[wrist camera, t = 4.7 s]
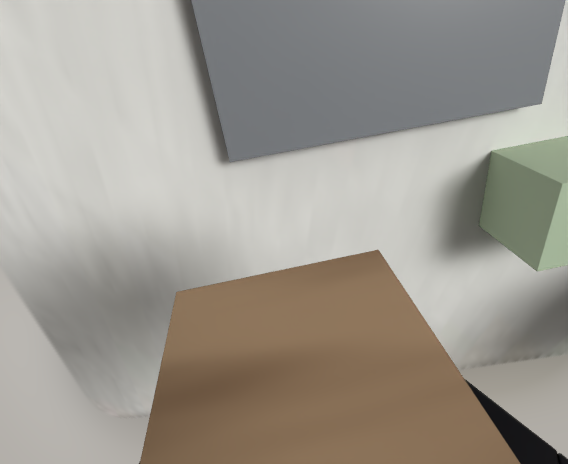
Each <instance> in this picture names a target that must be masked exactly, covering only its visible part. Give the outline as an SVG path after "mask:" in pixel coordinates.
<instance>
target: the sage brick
mask: <svg viewBox="0 0 568 464" xmlns="http://www.w3.org/2000/svg"><path fill="white" fill-rule="evenodd" d="M479 226H480V227H481V228H482V229H484V230H485V231H486V232H487V233H489V234H490V235H491V236H493V237H494V238H495V239H496V240H498V241H499V242H500V243H501V244H503V245H504V246H505V247H507V248H508V249H509V250H510V251H512V252H513V253H514V254H515V255H517V256H518V257H519V258H521V259H522V260H523V261H524V262H526V263H527V264H528V265H529V266H531V267H532V268H533V269H535V270H536V271H542V270H547V269H551V268H556V267H561V266H566V265H568V136H565V137H560V138H555V139H549V140H544V141H539V142H534V143H529V144H524V145H519V146H514V147H508V148H503V149H498V150H493V151H491V157H490V163H489V169H488V175H487V180H486V186H485V192H484V198H483V204H482V210H481V216H480V222H479Z"/></svg>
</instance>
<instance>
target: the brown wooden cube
mask: <svg viewBox="0 0 568 464" xmlns="http://www.w3.org/2000/svg"><path fill="white" fill-rule="evenodd" d="M140 464H520V462H519V461H518V459H517V458H516V456H515V455H514V453H513V452H512V450H511V449H510V447H509V446H508V444H507V443H506V441H505V440H504V438H503V437H502V435H501V434H500V432H499V431H498V429H497V428H496V426H495V425H494V423H493V422H492V420H491V419H490V417H489V416H488V414H487V413H486V411H485V410H484V408H483V407H482V405H481V404H480V402H479V401H478V399H477V398H476V396H475V395H474V393H473V392H472V390H471V389H470V387H469V386H468V384H467V383H466V381H465V380H464V378H463V377H462V375H461V374H460V372H459V370H458V369H457V367H456V366H455V364H454V363H453V361H452V360H451V358H450V357H449V355H448V354H447V352H446V351H445V349H444V348H443V346H442V345H441V343H440V342H439V340H438V339H437V337H436V336H435V334H434V333H433V331H432V330H431V328H430V327H429V325H428V324H427V322H426V321H425V319H424V318H423V316H422V315H421V313H420V312H419V310H418V309H417V307H416V306H415V304H414V303H413V301H412V300H411V298H410V297H409V295H408V294H407V292H406V291H405V289H404V288H403V286H402V285H401V283H400V282H399V280H398V279H397V277H396V276H395V274H394V273H393V271H392V270H391V268H390V266H389V265H388V263H387V262H386V260H385V259H384V257H383V256H382V254H381V253H380V251H379V250H375V251H370V252H365V253H361V254H356V255H351V256H346V257H342V258H337V259H332V260H327V261H322V262H318V263H313V264H308V265H303V266H299V267H294V268H289V269H284V270H279V271H275V272H270V273H265V274H260V275H256V276H251V277H246V278H241V279H236V280H232V281H227V282H222V283H217V284H212V285H208V286H203V287H198V288H193V289H189V290H184V291H179V292H176V296H175V301H174V306H173V311H172V315H171V320H170V325H169V329H168V334H167V339H166V343H165V348H164V353H163V357H162V362H161V367H160V372H159V376H158V381H157V386H156V390H155V395H154V400H153V404H152V409H151V414H150V418H149V423H148V428H147V433H146V437H145V442H144V447H143V451H142V456H141V461H140Z"/></svg>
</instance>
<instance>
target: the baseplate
mask: <svg viewBox="0 0 568 464" xmlns="http://www.w3.org/2000/svg"><path fill="white" fill-rule="evenodd" d="M191 1H192V5H193V10H194V14H195V18H196V22H197V26H198V31H199V35H200V39H201V43H202V47H203V51H204V56H205V60H206V64H207V68H208V72H209V77H210V81H211V85H212V89H213V93H214V98H215V102H216V106H217V110H218V114H219V118H220V123H221V127H222V131H223V135H224V139H225V144H226V148H227V152H228V156H229V160H230V162H234V161H239V160H244V159H250V158H255V157H260V156H266V155H271V154H276V153H282V152H287V151H292V150H298V149H303V148H308V147H314V146H319V145H324V144H330V143H335V142H340V141H346V140H351V139H356V138H362V137H367V136H372V135H378V134H383V133H388V132H394V131H399V130H404V129H410V128H415V127H420V126H426V125H431V124H436V123H442V122H447V121H452V120H458V119H463V118H468V117H474V116H479V115H484V114H490V113H495V112H500V111H506V110H511V109H516V108H522V107H527V106H532V105H538V104H542V99H543V95H544V91H545V86H546V82H547V78H548V73H549V69H550V65H551V60H552V56H553V52H554V47H555V43H556V39H557V35H558V30H559V26H560V22H561V17H562V13H563V9H564V4H565V0H191Z"/></svg>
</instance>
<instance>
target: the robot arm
mask: <svg viewBox="0 0 568 464" xmlns="http://www.w3.org/2000/svg"><path fill="white" fill-rule="evenodd" d="M464 380H465V379H464ZM465 381H466V383H467V384H468V386H469V387H470V389H471V390H472V392H473V393H474V395H475V396H476V398H477V399H478V401H479V402H480V404H481V405H482V407H483V408H484V410H485V411H486V413H487V414H488V416H489V417H490V419H491V420H492V422H493V423H494V425H495V426H496V428H497V429H498V431H499V432H500V434H501V435H502V437H503V438H504V440H505V441H506V443H507V444H508V446H509V447H510V449H511V450H512V452H513V453H514V455H515V456H516V458H517V459H518V461H519V462H520V464H568V459H567V458H566V457H565V456H563V455H562V454H560V453H558V454H557V451H556V450H555V449H554V448H553V447H551V446H550V445H549V444H548V443H546V442H545V441H544V440H542V439H541V438H540V437H539V436H537V435H536V434H535V433H533V432H532V431H531V430H529V429H528V428H527V427H526V426H524V425H523V424H522V423H521V422H519V421H518V420H517V419H515V418H514V417H513V416H512V415H510V414H509V413H508V412H506V411H505V410H504V409H502V408H501V407H500V406H499V405H497V404H496V403H495V402H494V401H492V400H491V399H490V398H488V397H487V396H486V395H485V394H483V393H482V392H481V391H479V390H478V389H477V388H476V387H474V386H473V385H472V384H470V383H469V382H468V381H467V380H465ZM139 464H140V463H139Z"/></svg>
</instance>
